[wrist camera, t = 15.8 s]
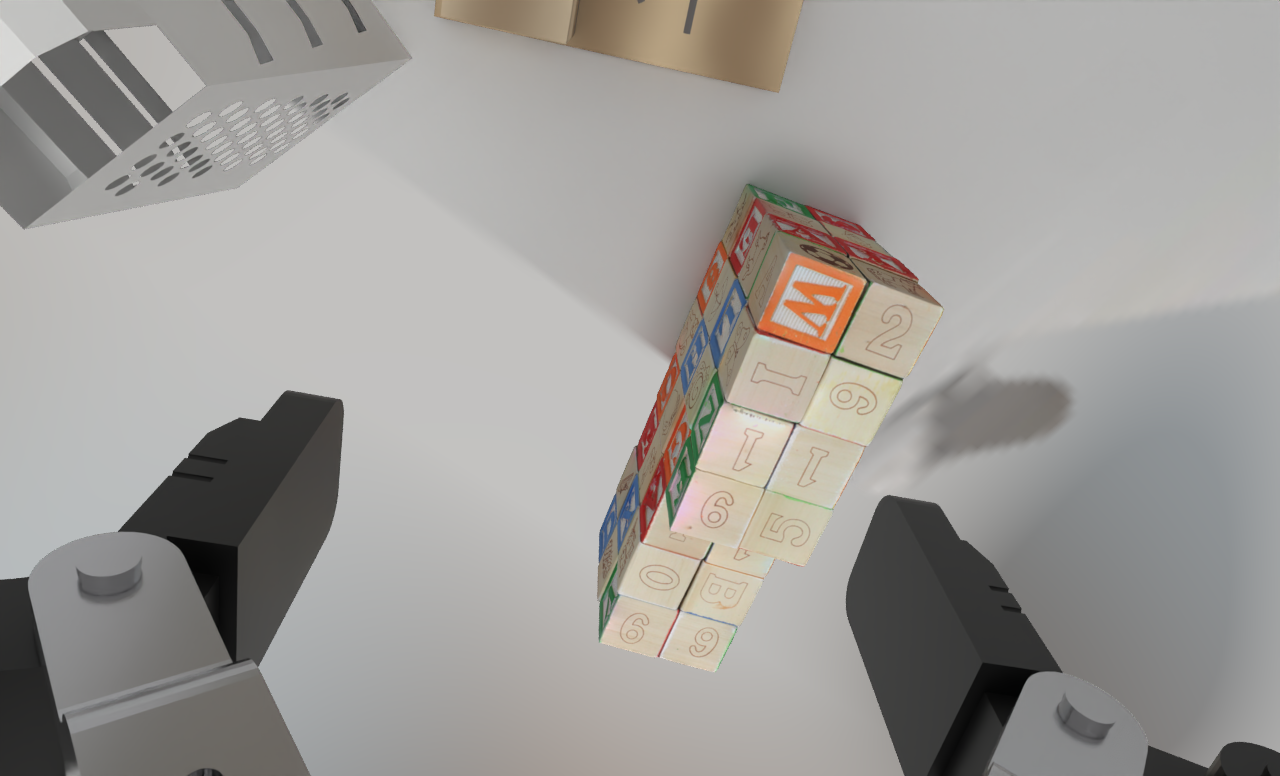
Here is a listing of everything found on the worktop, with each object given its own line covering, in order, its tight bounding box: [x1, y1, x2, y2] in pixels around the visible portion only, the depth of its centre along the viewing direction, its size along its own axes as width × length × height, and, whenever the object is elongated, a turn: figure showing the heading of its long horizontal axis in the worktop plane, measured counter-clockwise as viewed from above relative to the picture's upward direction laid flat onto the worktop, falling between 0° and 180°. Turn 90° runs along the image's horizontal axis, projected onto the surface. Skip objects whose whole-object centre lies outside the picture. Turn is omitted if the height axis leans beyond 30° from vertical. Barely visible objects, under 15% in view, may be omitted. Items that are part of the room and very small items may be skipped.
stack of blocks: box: [597, 184, 944, 672], centre depth 40 cm, size 21×6×12 cm, turn 160°
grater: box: [0, 0, 412, 229], centre depth 28 cm, size 10×10×20 cm
